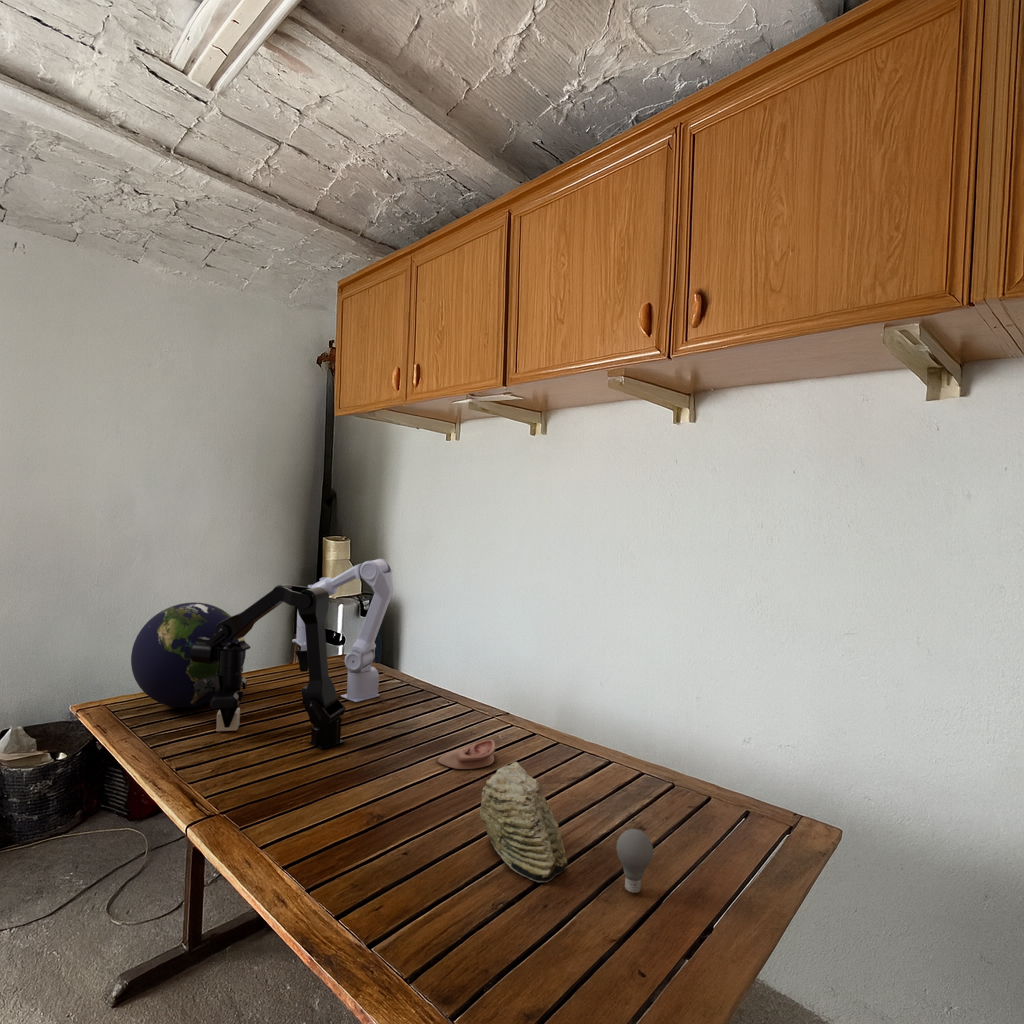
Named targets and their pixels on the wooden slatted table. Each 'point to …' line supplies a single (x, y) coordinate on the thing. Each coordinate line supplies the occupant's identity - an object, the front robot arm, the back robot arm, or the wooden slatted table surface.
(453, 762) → the anatomical model
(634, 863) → the light bulb
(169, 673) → the globe
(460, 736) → the wooden slatted table surface
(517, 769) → the fossil
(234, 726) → the block
